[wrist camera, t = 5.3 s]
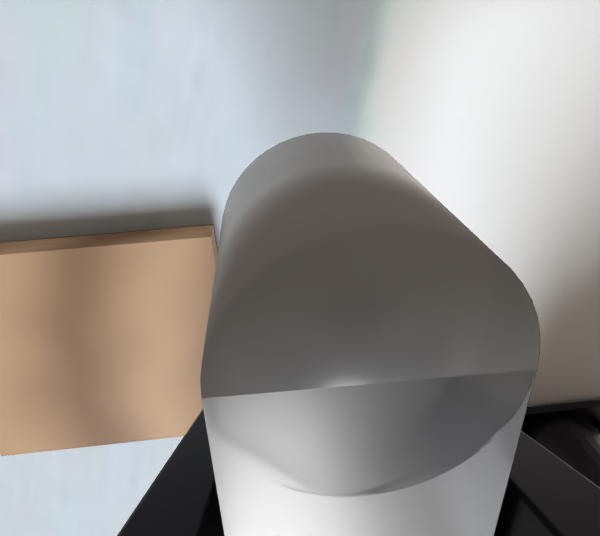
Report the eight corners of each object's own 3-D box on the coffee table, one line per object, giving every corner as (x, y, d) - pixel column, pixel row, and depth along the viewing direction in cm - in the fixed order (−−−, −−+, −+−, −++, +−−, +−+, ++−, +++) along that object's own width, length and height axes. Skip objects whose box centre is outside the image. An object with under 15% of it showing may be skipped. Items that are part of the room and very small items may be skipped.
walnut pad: (213, 224, 19) (211, 236, 18) (241, 411, 23) (240, 429, 22) (-75, 248, 18) (-95, 263, 17) (12, 435, 23) (1, 456, 22)
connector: (429, 127, 8) (577, 212, 4) (387, 561, 13) (437, 754, 10) (209, 138, 8) (174, 238, 4) (261, 576, 13) (265, 779, 10)
